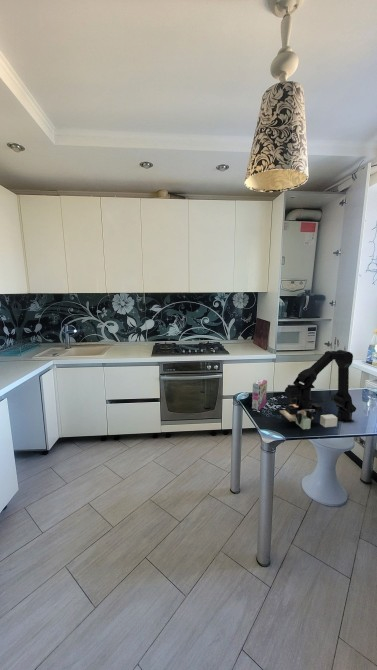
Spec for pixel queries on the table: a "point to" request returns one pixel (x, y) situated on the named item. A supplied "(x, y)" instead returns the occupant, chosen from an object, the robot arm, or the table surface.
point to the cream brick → (328, 420)
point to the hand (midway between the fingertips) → (302, 423)
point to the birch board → (290, 417)
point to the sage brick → (304, 422)
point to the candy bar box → (259, 394)
